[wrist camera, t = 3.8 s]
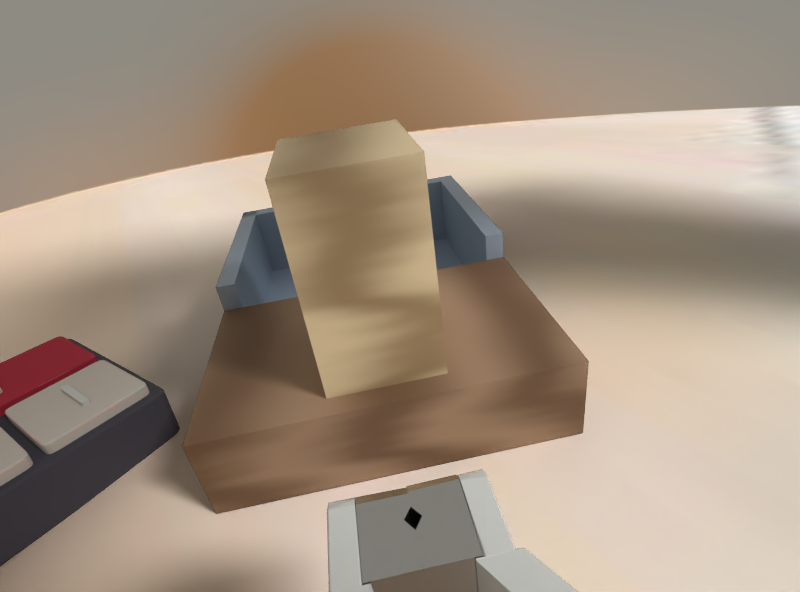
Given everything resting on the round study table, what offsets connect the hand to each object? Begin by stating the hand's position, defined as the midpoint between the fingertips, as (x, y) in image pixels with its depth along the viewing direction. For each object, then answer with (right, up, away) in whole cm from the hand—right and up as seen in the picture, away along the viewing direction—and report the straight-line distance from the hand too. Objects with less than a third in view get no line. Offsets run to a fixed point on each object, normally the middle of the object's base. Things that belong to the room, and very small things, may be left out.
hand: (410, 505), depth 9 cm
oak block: (-1, +2, +13) cm, 13 cm away
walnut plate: (-1, -1, +16) cm, 16 cm away
